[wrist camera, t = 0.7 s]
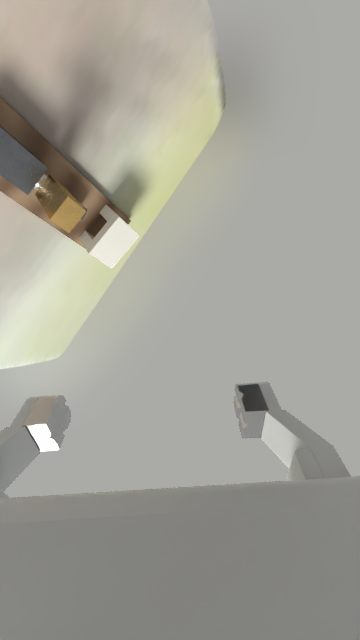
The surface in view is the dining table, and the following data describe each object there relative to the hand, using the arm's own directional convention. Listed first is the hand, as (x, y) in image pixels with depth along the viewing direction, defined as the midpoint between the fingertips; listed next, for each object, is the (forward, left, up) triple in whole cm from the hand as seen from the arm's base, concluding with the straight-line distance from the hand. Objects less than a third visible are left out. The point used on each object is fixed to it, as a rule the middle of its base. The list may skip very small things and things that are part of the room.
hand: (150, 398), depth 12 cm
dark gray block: (-1, -1, -47) cm, 47 cm away
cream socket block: (+9, +15, -47) cm, 50 cm away
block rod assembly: (+1, +2, -46) cm, 46 cm away
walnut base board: (+3, +6, -48) cm, 49 cm away
